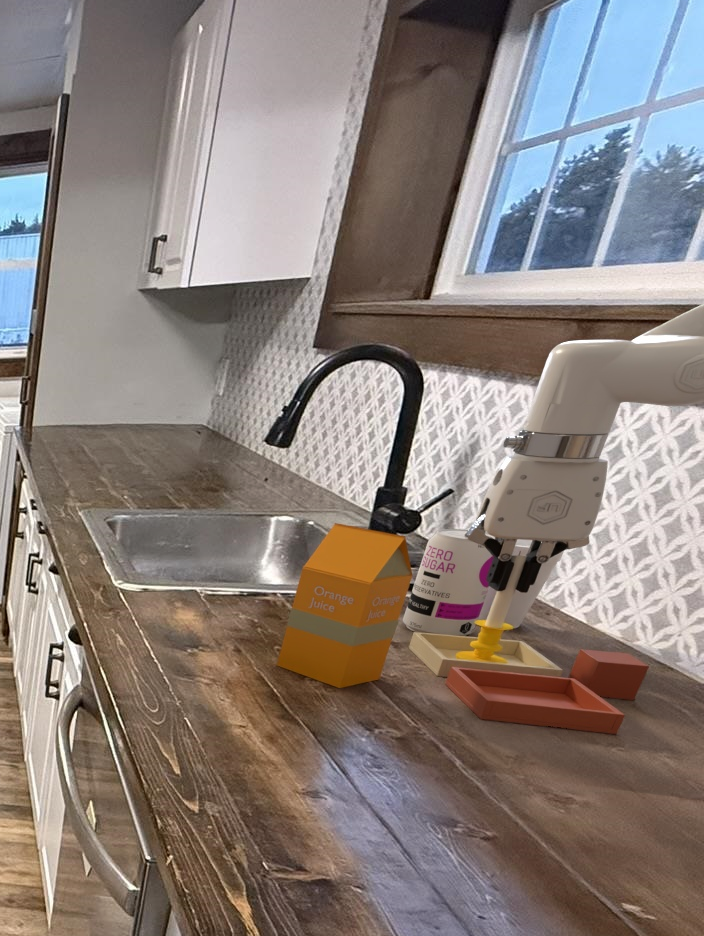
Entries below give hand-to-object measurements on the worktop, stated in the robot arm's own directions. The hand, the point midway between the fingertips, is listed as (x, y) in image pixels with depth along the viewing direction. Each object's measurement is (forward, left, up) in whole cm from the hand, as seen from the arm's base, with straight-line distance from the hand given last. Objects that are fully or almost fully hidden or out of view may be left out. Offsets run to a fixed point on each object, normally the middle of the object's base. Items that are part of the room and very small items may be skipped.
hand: (507, 588), depth 109 cm
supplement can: (0, -16, -12) cm, 19 cm away
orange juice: (+19, +8, -12) cm, 24 cm away
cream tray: (0, 0, -11) cm, 11 cm away
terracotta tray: (0, +14, -11) cm, 18 cm away
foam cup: (-9, -23, -12) cm, 27 cm away
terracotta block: (-10, +5, -11) cm, 16 cm away
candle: (0, 0, -11) cm, 11 cm away
